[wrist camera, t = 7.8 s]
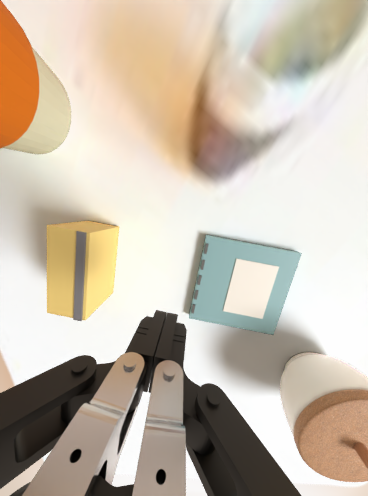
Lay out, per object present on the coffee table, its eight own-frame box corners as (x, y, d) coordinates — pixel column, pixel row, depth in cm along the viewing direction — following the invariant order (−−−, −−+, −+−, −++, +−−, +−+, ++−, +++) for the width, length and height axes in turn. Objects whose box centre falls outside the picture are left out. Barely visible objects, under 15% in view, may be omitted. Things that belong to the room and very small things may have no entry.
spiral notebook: (206, 234, 21) (206, 235, 20) (297, 251, 20) (302, 253, 19) (189, 314, 23) (188, 319, 22) (270, 330, 23) (273, 336, 22)
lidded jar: (366, 367, 23) (476, 469, 14) (306, 412, 25) (368, 526, 16) (307, 322, 22) (384, 400, 13) (250, 373, 25) (283, 469, 15)
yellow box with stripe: (87, 220, 21) (44, 225, 15) (119, 226, 21) (88, 233, 15) (84, 286, 23) (45, 313, 17) (113, 292, 23) (84, 321, 17)
